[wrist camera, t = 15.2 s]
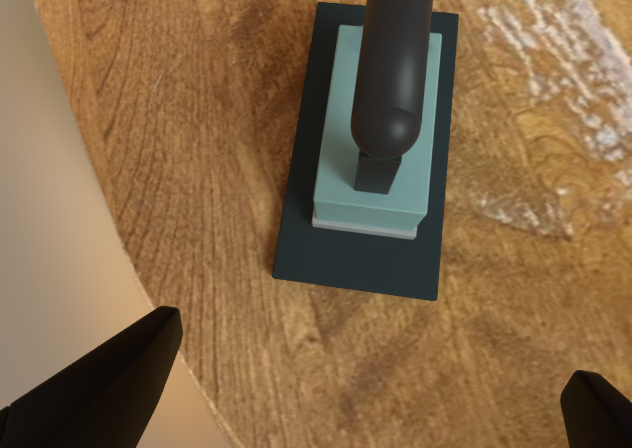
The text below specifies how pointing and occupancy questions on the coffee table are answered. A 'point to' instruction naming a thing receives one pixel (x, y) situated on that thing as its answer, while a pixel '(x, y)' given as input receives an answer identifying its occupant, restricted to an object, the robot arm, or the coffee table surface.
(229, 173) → the coffee table surface
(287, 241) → the iron pad
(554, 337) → the coffee table surface
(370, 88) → the pale blue handled block
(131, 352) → the robot arm
